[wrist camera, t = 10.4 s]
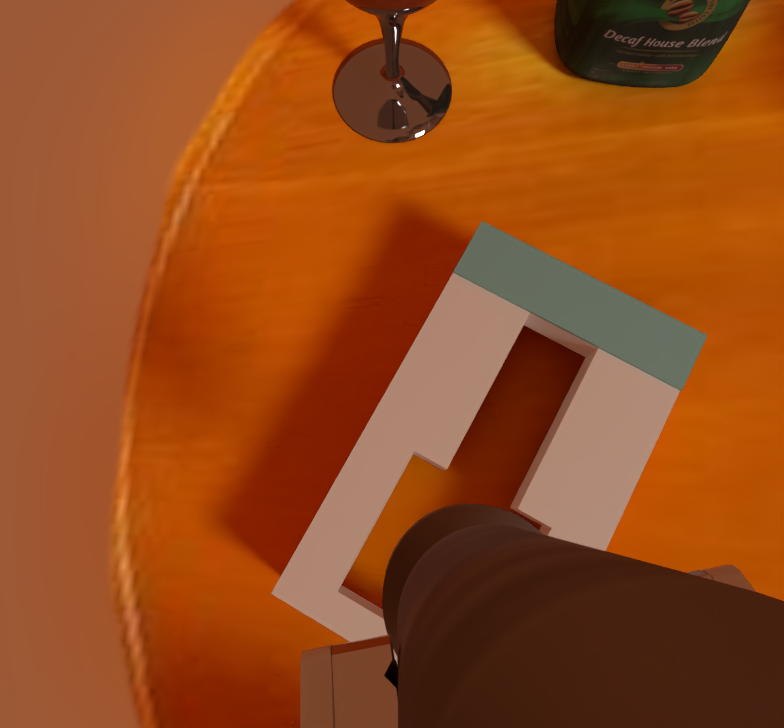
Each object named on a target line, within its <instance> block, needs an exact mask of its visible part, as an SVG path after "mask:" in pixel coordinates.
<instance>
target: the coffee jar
mask: <svg viewBox="0 0 784 728" xmlns="http://www.w3.org/2000/svg"><path fill="white" fill-rule="evenodd" d="M749 2H750V0H557V5H556V13H555V30H554V32H555V43H556V47H557V51H558V54H559V56H560V58H561V60H562V61H563V63H564V64H565V65H566V66H567V68H568V69H569V70H570V71H572V72H573V73H574V74H576V75H578V76H580V77H582V78H585V79H589V80H592V81H597V82H602V83H608V84H614V85H621V86H630V87H647V88H665V87H678V86H682V85H686V84H688V83H690V82H692V81H694V80H696V79H698V78H699V77H700V76H702V75H703V74H704V72H705V71H706V70H707V69H708V68H709V66H710V65H711V64H712V62H713V61H714V59H715V58H716V57H717V55H718V54H719V52H720V51H721V49H722V47H723V46H724V44H725V43H726V41H727V40H728V38H729V36H730V34H731V33H732V31H733V29H734V28H735V26H736V24H737V23H738V21H739V19H740V17H741V16H742V14H743V12H744V10H745V9H746V7H747V5H748V3H749Z"/></svg>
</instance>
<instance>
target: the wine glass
mask: <svg viewBox="0 0 784 728" xmlns="http://www.w3.org/2000/svg"><path fill="white" fill-rule="evenodd" d="M346 1H347V2H348V3H350V4H351V5H353V6H354V7H356V8H358V9H359V10H362V11H364V12H367V13H369V14H372V15H375V16H376V17H377V19H378V20H379V23H380V27H381V31H382V36H383V38H382V39H378V40H373V41H371V42H368V43H366V44H363V45H362V46H360V47H358V48H357V49H355V50H354V51H353V52H352V53H350V54H349V55H348V56H347V57H346V59H345V60H344V61H343V62H342V64H341V66H340V67H339V69H338V71H337V73H336V76H335V80H334V86H333V96H334V102H335V105H336V108H337V110H338V112H339V114H340V116H341V118H342V119H343V120H344V121H345V123H346V124H347V125H348V126H349V127H350V128H351V129H353V130H354V131H355V132H357V133H358V134H360V135H362V136H364V137H366V138H368V139H371V140H374V141H379V142H385V143H400V142H406V141H410V140H414V139H416V138H419V137H421V136H423V135H425V134H426V133H428V132H429V131H431V130H432V129H433V128H434V127H435V126H437V125H438V124H439V122H440V121H441V120H442V119H443V117H444V116H445V114H446V112H447V110H448V108H449V105H450V102H451V96H452V85H451V79H450V76H449V73H448V70H447V69H446V67H445V65H444V63H443V62H442V61H441V59H440V58H439V57H438V56H437V55H436V54H435V53H434V52H433V51H432V50H430V49H429V48H427V47H426V46H424V45H422V44H420V43H417V42H415V41H412V40H408V39H404V38H401V36H402V31H403V26H404V22H405V20H406V18H407V17H408V15H410V14H413V13H415V12H418V11H420V10H423V9H425V8H426V7H428V6H429V5H431V4H433V3H434V2H435V1H437V0H346Z"/></svg>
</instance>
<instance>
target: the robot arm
mask: <svg viewBox="0 0 784 728" xmlns="http://www.w3.org/2000/svg"><path fill="white" fill-rule="evenodd" d="M688 574H692V575H696V576H699V577H703V578H707V579H711V580H714V581H718V582H722V583H725V584H729V585H733V586H737V587H740V588H744V589H748V590H751V591H754V592H756V591H755V590H754V588H753V587H752V586H751V584H750V583H749V582H748V581H747V579H746V578H745V577H744V575H743V574H742V573H741V571H740V570H739V569H737V568H736V567H734V566H733V565H723V566H719V567H714V568H709V569H705V570H697V571H692V572H688ZM300 728H398V670H397V661H396V660H395V657H394V651H393V645H392V641H391V637H390V634H388V635H383V636H378V637H373V638H368V639H363V640H358V641H353V642H348V643H343V644H338V645H330V646H326V647H321V648H316V649H311V650H307V651H302V657H301V662H300Z"/></svg>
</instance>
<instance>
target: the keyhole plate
mask: <svg viewBox="0 0 784 728" xmlns="http://www.w3.org/2000/svg"><path fill="white" fill-rule="evenodd" d="M523 326H526V327H528V328H530V329H532V330H534V331H536V332H538V333H540V334H542V335H544V336H545V337H547V338H549V339H551V340H553V341H555V342H557V343H559V344H561V345H563V346H565V347H566V348H568V349H570V350H572V351H574V352H576V353H578V354H580V355H582V356H584V357H585V359H584V361H583V363H582V365H581V367H580V369H579V371H578V373H577V375H576V377H575V379H574V381H573V383H572V385H571V387H570V389H569V391H568V393H567V395H566V397H565V399H564V401H563V403H562V405H561V407H560V409H559V411H558V413H557V415H556V417H555V419H554V421H553V423H552V425H551V427H550V429H549V431H548V433H547V435H546V437H545V439H544V441H543V443H542V445H541V447H540V449H539V450H538V452H537V454H536V456H535V458H534V460H533V462H532V464H531V466H530V468H529V470H528V472H527V474H526V476H525V478H524V480H523V482H522V484H521V486H520V488H519V490H518V492H517V494H516V496H515V498H514V500H513V502H512V504H511V506H510V508H511V509H513V510H514V511H516V512H518V513H520V514H522V515H523V516H525V517H527V518H529V519H530V520H532V521H534V522H536V523H538V524H539V525H541V527H540V529H539V531H540V532H541V533H542V534H543V535H547V536H551V537H554V538H558V539H562V540H566V541H569V542H573V543H577V544H580V545H584V546H588V547H592V548H595V549H599V550H603V551H606V549H607V546H608V544H609V542H610V540H611V538H612V536H613V534H614V531H615V529H616V527H617V525H618V523H619V521H620V518H621V516H622V514H623V512H624V510H625V508H626V506H627V503H628V501H629V499H630V497H631V495H632V493H633V491H634V488H635V486H636V484H637V482H638V480H639V478H640V476H641V473H642V471H643V469H644V467H645V465H646V463H647V461H648V458H649V456H650V454H651V452H652V450H653V448H654V446H655V443H656V441H657V439H658V437H659V435H660V433H661V431H662V428H663V426H664V424H665V422H666V420H667V418H668V416H669V413H670V411H671V409H672V407H673V405H674V403H675V401H676V398H677V396H678V394H679V392H680V391H681V390H682V389H683V387H684V385H685V383H686V380H687V378H688V376H689V374H690V372H691V370H692V368H693V365H694V363H695V361H696V359H697V357H698V355H699V353H700V350H701V348H702V346H703V344H704V342H705V340H706V338H707V335H706V334H704V333H702V332H700V331H698V330H696V329H694V328H692V327H690V326H688V325H686V324H684V323H682V322H680V321H678V320H676V319H674V318H672V317H671V316H669V315H667V314H665V313H663V312H661V311H659V310H657V309H655V308H653V307H651V306H649V305H647V304H645V303H643V302H641V301H639V300H637V299H635V298H633V297H631V296H629V295H627V294H625V293H623V292H621V291H619V290H617V289H615V288H613V287H611V286H609V285H607V284H605V283H603V282H601V281H599V280H597V279H595V278H593V277H592V276H590V275H588V274H586V273H584V272H582V271H580V270H578V269H576V268H574V267H572V266H570V265H568V264H566V263H564V262H562V261H560V260H558V259H556V258H554V257H552V256H550V255H548V254H546V253H544V252H542V251H540V250H538V249H536V248H534V247H532V246H530V245H528V244H526V243H524V242H522V241H520V240H518V239H516V238H515V237H513V236H511V235H509V234H507V233H505V232H503V231H501V230H499V229H497V228H495V227H493V226H491V225H489V224H487V223H485V222H483V221H482V222H481V224H480V225H479V227H478V229H477V231H476V232H475V234H474V236H473V238H472V240H471V241H470V243H469V245H468V247H467V248H466V250H465V252H464V254H463V255H462V257H461V259H460V261H459V262H458V264H457V266H456V268H455V269H454V271H453V274H452V276H451V277H450V279H449V281H448V283H447V284H446V286H445V288H444V290H443V291H442V293H441V295H440V297H439V298H438V300H437V302H436V304H435V306H434V307H433V309H432V311H431V313H430V314H429V316H428V318H427V320H426V321H425V323H424V325H423V327H422V328H421V330H420V332H419V334H418V335H417V337H416V339H415V341H414V343H413V344H412V346H411V348H410V350H409V351H408V353H407V355H406V357H405V358H404V360H403V362H402V364H401V365H400V367H399V369H398V371H397V373H396V374H395V376H394V378H393V380H392V381H391V383H390V385H389V387H388V388H387V390H386V392H385V394H384V395H383V397H382V399H381V401H380V402H379V404H378V406H377V408H376V410H375V411H374V413H373V415H372V417H371V418H370V420H369V422H368V424H367V425H366V427H365V429H364V431H363V432H362V434H361V436H360V438H359V439H358V441H357V443H356V445H355V447H354V448H353V450H352V452H351V454H350V455H349V457H348V459H347V461H346V462H345V464H344V466H343V468H342V469H341V471H340V473H339V475H338V476H337V478H336V480H335V482H334V484H333V485H332V487H331V489H330V491H329V492H328V494H327V496H326V498H325V499H324V501H323V503H322V505H321V506H320V508H319V510H318V512H317V513H316V515H315V517H314V519H313V521H312V522H311V524H310V526H309V528H308V529H307V531H306V533H305V535H304V536H303V538H302V540H301V542H300V543H299V545H298V547H297V549H296V550H295V552H294V554H293V556H292V558H291V559H290V561H289V563H288V565H287V566H286V568H285V570H284V572H283V573H282V575H281V577H280V579H279V580H278V582H277V584H276V586H275V588H274V589H273V591H272V593H271V594H272V595H274V596H276V597H277V598H279V599H281V600H282V601H284V602H286V603H287V604H289V605H291V606H292V607H294V608H295V609H297V610H299V611H300V612H302V613H304V614H305V615H307V616H309V617H310V618H312V619H314V620H315V621H317V622H319V623H320V624H322V625H324V626H325V627H327V628H328V629H330V630H332V631H333V632H335V633H337V634H338V635H340V636H342V637H343V638H345V639H347V640H348V641H350V642H353V641H358V640H363V639H368V638H373V637H378V636H383V635H388V634H387V631H386V627H385V622H384V617H383V609H381V608H380V607H378V606H376V605H375V604H373V603H371V602H370V601H368V600H366V599H364V598H363V597H361V596H359V595H358V594H356V593H354V592H353V591H351V590H349V589H348V588H346V587H344V586H343V585H342V583H343V581H344V579H345V578H346V576H347V574H348V572H349V570H350V568H351V567H352V565H353V563H354V561H355V559H356V557H357V556H358V554H359V552H360V550H361V548H362V546H363V545H364V543H365V541H366V539H367V537H368V535H369V534H370V532H371V530H372V528H373V526H374V524H375V523H376V521H377V519H378V517H379V515H380V513H381V512H382V510H383V508H384V506H385V504H386V502H387V501H388V499H389V497H390V495H391V493H392V492H393V490H394V488H395V486H396V484H397V482H398V481H399V479H400V477H401V475H402V473H403V471H404V470H405V468H406V466H407V464H408V462H409V460H410V459H411V457H412V455H413V454H414V455H416V456H418V457H420V458H422V459H423V460H425V461H427V462H429V463H431V464H432V465H434V466H436V467H438V468H439V469H441V470H443V471H444V470H447V468H448V467H449V465H450V463H451V461H452V459H453V457H454V455H455V453H456V451H457V450H458V448H459V446H460V444H461V442H462V440H463V438H464V436H465V435H466V433H467V431H468V429H469V427H470V425H471V423H472V421H473V420H474V418H475V416H476V414H477V412H478V410H479V408H480V406H481V404H482V403H483V401H484V399H485V397H486V395H487V393H488V391H489V389H490V388H491V386H492V384H493V382H494V380H495V378H496V376H497V374H498V373H499V371H500V369H501V367H502V365H503V363H504V361H505V359H506V358H507V356H508V354H509V352H510V350H511V348H512V346H513V344H514V342H515V341H516V339H517V337H518V335H519V333H520V331H521V329H522V327H523ZM393 651H394V649H393ZM394 657H395V660H396V661H397V655H396V653H395V651H394Z"/></svg>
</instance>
